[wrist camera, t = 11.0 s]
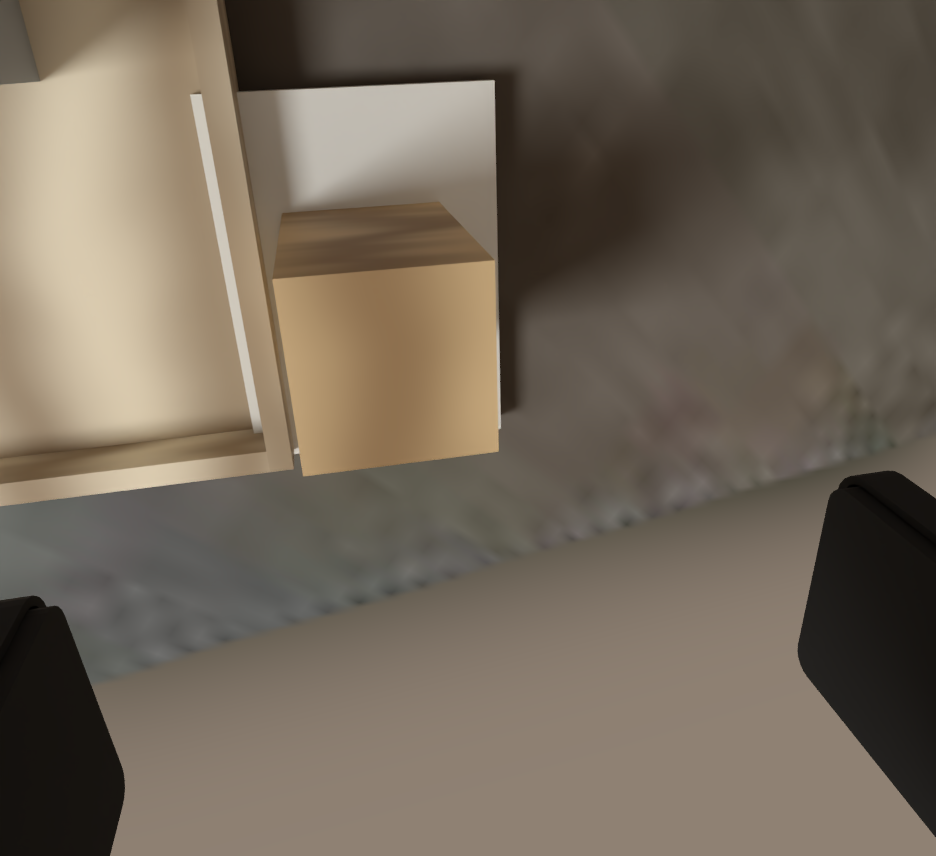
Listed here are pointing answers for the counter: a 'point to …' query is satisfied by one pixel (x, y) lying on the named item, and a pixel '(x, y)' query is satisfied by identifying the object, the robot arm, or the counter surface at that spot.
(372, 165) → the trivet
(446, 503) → the counter surface
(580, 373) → the counter surface
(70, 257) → the bin
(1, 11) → the slate block
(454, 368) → the oak block
